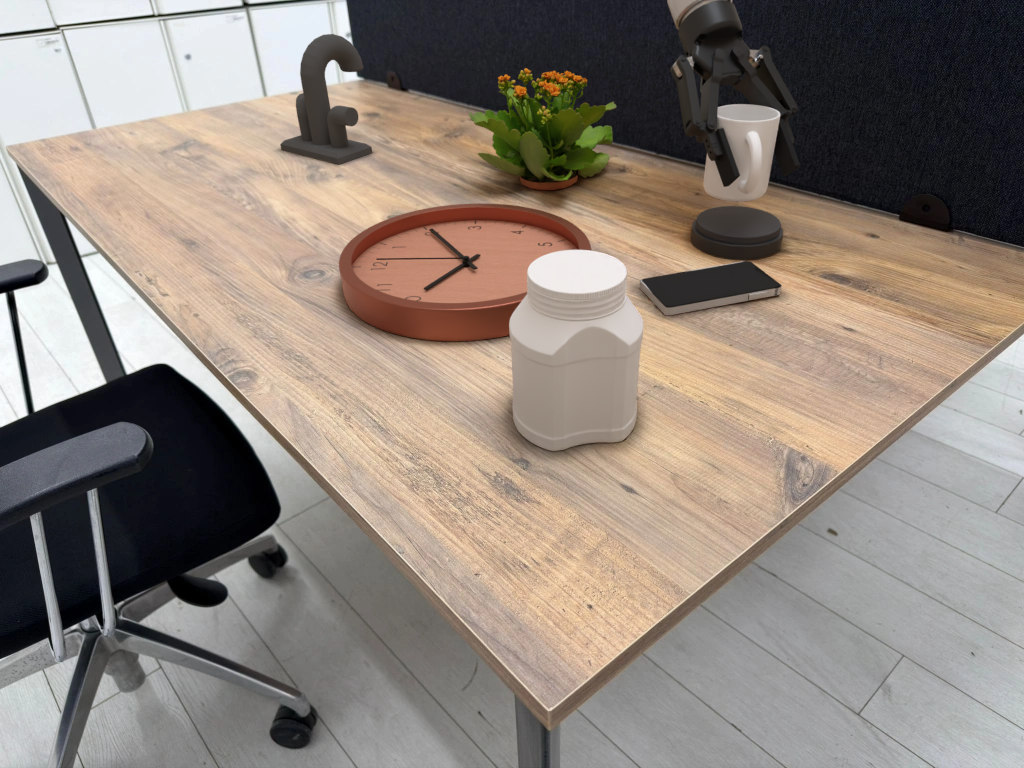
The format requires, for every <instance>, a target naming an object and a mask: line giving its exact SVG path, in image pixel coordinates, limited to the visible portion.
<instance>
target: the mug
mask: <svg viewBox="0 0 1024 768" xmlns="http://www.w3.org/2000/svg"><path fill="white" fill-rule="evenodd" d="M779 120H780V112H779V111H777V110H775V109H773V108H770V107H766V106H760V105H752V104H751V103H749V104H748V103H737V104H736V103H734V104H725V105H721V106H718V112H717V126H716V128H715V130H716V131H717V129H720V128H724V131H725V134H726V137H727V140H728V142H729V145H730V148H731V151H732V154H733V157H734V159H735V162H736V165H737V168H738V171H739V173H740V176H739V177H738V178H737V179H736V180H735V181H734V182H733V183H732V184H731V185H730V186H727V187H724V186H723V183H722V180H721V178H720V175H719V172H718V169H717V166H716V163H715V161H711V160H710V159H709V157H708V153H707V152H706V157H705V167H704V173H703V185H702V187H703V190H704V192H705V193H706V194H707V195H709V197H711V198H714V199H717V200H719V201H725V202H733V203H746V202H752V201H756V200H759V199H760V198H762V197H763V196H764V195H766V192H767V190H768V188H769V182H770V177H771V171H772V165H773V159H774V155H775V154H774V148H775V143H776V137H777V132H778V126H779Z"/></svg>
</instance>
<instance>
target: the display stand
mask: <svg viewBox="0 0 1024 768" xmlns="http://www.w3.org/2000/svg"><path fill="white" fill-rule="evenodd" d="M689 238H690V243H691V245H692V246H693V247H694V248H695V249H697V251H700V252H701V253H704V254H706V255H709V256H711V257H715V258H720V259H724V260H725V259H726V260H732V261H753V260H761V259H765V258H768V257H771V256H774V255H775V254H777V253H778V252H779V251H780V250H781V247H782V243H783V238H784V227H782V223H781V220H780V218H778V217H777V216H775V215H774V214H772V213H771V212H768V211H765V210H763V209H759V208H755V207H749V206H740V205H725V206H715V207H712V208H707V209H705V210H703V211H701V212H700V213H699V214H698V215H697V216H696V219H694V221H693V222H692V223H691V230H690V237H689Z"/></svg>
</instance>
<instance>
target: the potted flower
mask: <svg viewBox="0 0 1024 768" xmlns="http://www.w3.org/2000/svg"><path fill="white" fill-rule="evenodd" d="M497 79H498V81H497V84H498V85H497V87H498V89H499V90H498V93H500V94H502V95H504V96H505V97H506V101H507V109H508V111H509V112H508V111H506V110H505V109H504V110H502V109H500V110H498V111H497V112H496V113H495V111H493V110H492V109H487V110H485V111H484V113H483V112H482V111H476V112H475V113H474V114H473V113H472V112H471V111H469V113H468V116H469V118H470V120H471V121H472V122H473V123H474V125H475V126H478V127H481V128H484V129H486V130H488V131H489V132H492V133H493V135H492V142H493V143H492V148H493V149H494V150H495V154H496V155H493V154H491V153H488V152H477V155H478V156H479V157H480V158H481V160H483V161H485V162H486V163H488V165H491V166H492V167H494V168H496V169H497V170H500V171H502V172H505V173H508V174H510V175H513V176H518V177H519V180H520V184H521V185H522V186H524V187H527V188H529V189H531V190H537V191H557V190H562V189H566V188H568V187H571V186H572V185H574V184H576V183H577V181H578V176H582V178H584V179H586V178H587V177H589V178H590V177H594V176H595V174H599V173H601V172H602V170H603V169H605V168H606V166H607V165H608V163H609V160H610V159H611V156H610V155H609V154H608V153H606V152H603V151H602V152H601V151H599V152H597V151H595V150H594V149H596V147H597V146H599V145H602V146H603V145H606V146H611V145H613V141H614V138H613V127H612V126H611V125H604V126H602V125H598V126H594V127H593V126H592V124H595V123H597V122H599V121H600V120H601V119H602V118H603V117H604V115H605V113H606V112H609V111H612V110H615V109H616V108H617V104H616V103H615V101H611V102H609V103H607V104H606V105H604V104H603V105H601V104H600V105H596V104H595V105H594V104H593V105H592V106H590V104H589V103H588V102H583V103H581V104H580V105H579V107H575V103H576V101H577V99H580V98H581V97H582V96H583V95H584V91H583V90H584V88H585V87H587V86H588V84H587V83H588V79H587V78H586V77H582V75H575V73H572V72H571V71H568V70H565V71H564V73H562V72H561V73H560V72H557V71H556V70H552V71H546V72H543V73H541V77H540V78H539V77H537V78H536V80H533V79H534V77H533V73H532V70H530V69H528V68H527V67H525V68H524V69H523V70H522V69H521V70H520V72H519V74H518V77H517V79H518V80H519V81H521V82H522V83H523V85H524V86H521V85H519V84H518V85H514V84H515V83H516V80H515V79H512V80H511V81H510V79H511V75H508V74H504V76H503V75H500V76H498V77H497ZM529 82H531V87H532V89H533V90H534V97H533V98H532V97H530V96H529V94H528V89H527V85H528V84H529ZM579 92H580V95H579V96H577V95H578V94H579ZM542 99H543V100H544V101H545V103H547V105H546V106H547V107H546V106H545V105H542V103H540V102H541V101H542ZM552 100H553V101H552ZM513 107H514V108H515V110H516V111H515V110H514V109H513ZM574 107H575V109H574Z"/></svg>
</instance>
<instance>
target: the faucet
mask: <svg viewBox="0 0 1024 768" xmlns="http://www.w3.org/2000/svg"><path fill="white" fill-rule="evenodd" d="M331 61H335V62H336V64H337V65H338V67H339V69H340V70H341V72H344V73H358V72H362V71H363V69H364V65H363V61H362V57H361V56H360V54H359V52H358V49H357V48H356V47H355V46H354V45H353V44H352V42H351V41H350V40H348V39H347V38H345V37H344V36H342V35H338V34H335V33H327V34H322V35H319V36H318V37H316V38H314V39H313V40H312V41H311V42H310V43H308V45H307V47H306V48H305V50H304V52H303V53H302V57H301V61H300V70H299V77H300V83H301V88H302V93H299V94H298V95H297V96H296V99H295V111H296V117H297V120H298V126H299V131H300V134H299V135H296V136H294V137H290V138H288V139H284V140H283V141H282V142H281V143H280V144H279V145H280V149H281V151H284V152H289V153H291V154H296V155H300V156H304V157H309V158H312V159H316V160H320V161H324V162H328V163H331V164H335V165H342V164H344V163H348V162H350V161H353V160H355V159H359V158H361V157H364V156H367V155H370V154H373V148H372V146H371V145H369V144H367V143H365V142H361V141H356V140H351V139H349V138H348V132H347V127H354V126H356V125H357V124H358V122H359V113H358V111H357V109H356V107H355V108H354V107H351V106H345V105H334V106H333V107H331V103H330V97H329V91H328V87H327V86H328V85H327V79H326V68H327V66H328V65H329V63H330V62H331ZM346 126H347V127H346Z"/></svg>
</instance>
